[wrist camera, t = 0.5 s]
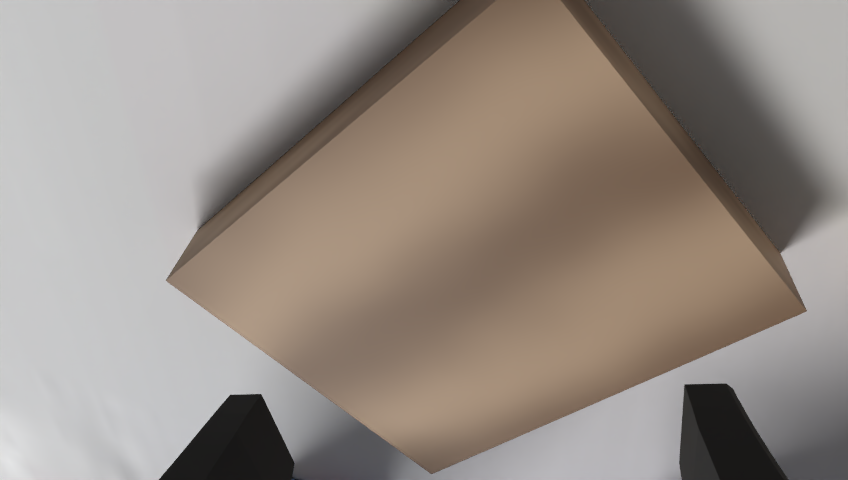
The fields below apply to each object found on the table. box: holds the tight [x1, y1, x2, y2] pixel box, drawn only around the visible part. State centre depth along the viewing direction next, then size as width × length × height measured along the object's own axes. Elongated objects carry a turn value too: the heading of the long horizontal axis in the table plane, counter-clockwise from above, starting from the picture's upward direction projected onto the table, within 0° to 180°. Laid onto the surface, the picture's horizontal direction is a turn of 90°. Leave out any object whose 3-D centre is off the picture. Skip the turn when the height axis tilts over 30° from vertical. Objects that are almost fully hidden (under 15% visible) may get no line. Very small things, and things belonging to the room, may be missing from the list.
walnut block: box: [166, 0, 807, 474], centre depth 21 cm, size 12×14×3 cm
